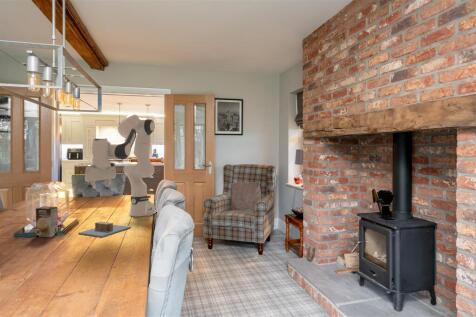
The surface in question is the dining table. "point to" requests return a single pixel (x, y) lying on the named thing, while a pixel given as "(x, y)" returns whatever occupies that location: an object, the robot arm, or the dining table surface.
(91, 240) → the dining table surface
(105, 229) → the walnut block
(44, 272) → the dining table surface
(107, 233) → the mat
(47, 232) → the coffee box
